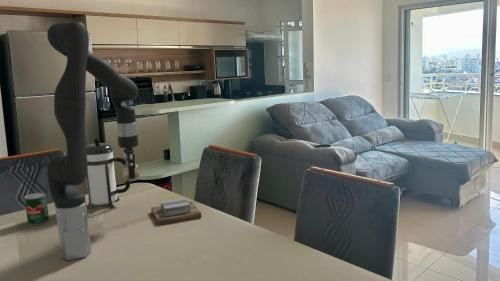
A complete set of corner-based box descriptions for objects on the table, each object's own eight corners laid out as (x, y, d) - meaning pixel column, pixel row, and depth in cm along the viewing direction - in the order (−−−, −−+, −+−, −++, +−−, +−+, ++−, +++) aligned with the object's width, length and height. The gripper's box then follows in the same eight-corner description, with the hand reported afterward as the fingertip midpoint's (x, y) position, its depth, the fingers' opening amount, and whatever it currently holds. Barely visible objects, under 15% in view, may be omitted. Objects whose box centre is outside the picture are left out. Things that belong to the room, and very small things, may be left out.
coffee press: (95, 213, 181) (87, 143, 176) (80, 204, 193) (73, 139, 188) (132, 202, 193) (126, 137, 187) (116, 195, 205) (110, 133, 199)
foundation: (201, 217, 171) (200, 205, 170) (158, 225, 165) (157, 212, 164) (191, 205, 186) (190, 194, 185) (151, 212, 180) (150, 200, 179)
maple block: (139, 179, 167) (138, 164, 166) (124, 180, 165) (123, 166, 164) (137, 175, 172) (136, 161, 171) (123, 177, 170) (122, 163, 169)
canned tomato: (47, 216, 179) (43, 191, 177) (51, 221, 173) (47, 195, 171) (26, 221, 175) (22, 195, 173) (29, 226, 169) (25, 200, 167)
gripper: (140, 136, 160) (143, 180, 163) (135, 131, 173) (138, 171, 176) (119, 137, 157) (123, 182, 160) (115, 132, 171) (119, 174, 173)
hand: (131, 176), depth 168 cm, fingers closed on maple block, 5 cm apart
